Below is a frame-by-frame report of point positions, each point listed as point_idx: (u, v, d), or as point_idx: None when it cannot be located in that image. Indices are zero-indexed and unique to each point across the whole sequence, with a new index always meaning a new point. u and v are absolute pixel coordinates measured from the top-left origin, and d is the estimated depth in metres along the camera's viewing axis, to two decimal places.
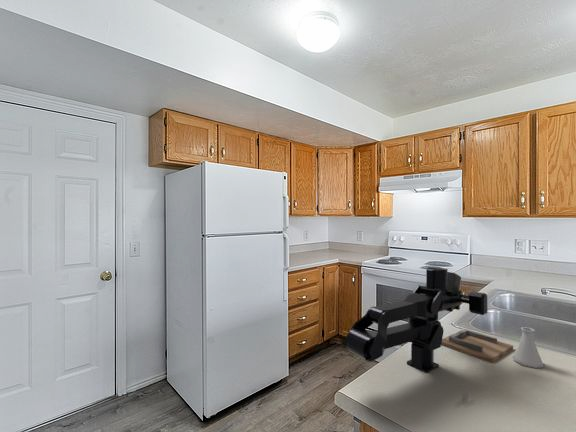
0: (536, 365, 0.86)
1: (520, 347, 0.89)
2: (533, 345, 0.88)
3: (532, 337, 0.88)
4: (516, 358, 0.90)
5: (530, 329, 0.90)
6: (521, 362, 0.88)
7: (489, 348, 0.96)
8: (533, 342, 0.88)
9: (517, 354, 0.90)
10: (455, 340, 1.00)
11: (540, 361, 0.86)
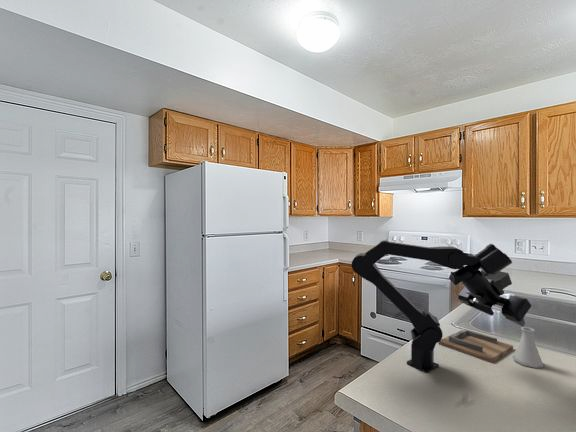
0: (536, 365, 0.86)
1: (520, 347, 0.89)
2: (533, 345, 0.88)
3: (532, 337, 0.88)
4: (516, 358, 0.90)
5: (530, 329, 0.90)
6: (521, 362, 0.88)
7: (489, 348, 0.96)
8: (533, 342, 0.88)
9: (517, 354, 0.90)
10: (455, 340, 1.00)
11: (540, 361, 0.86)
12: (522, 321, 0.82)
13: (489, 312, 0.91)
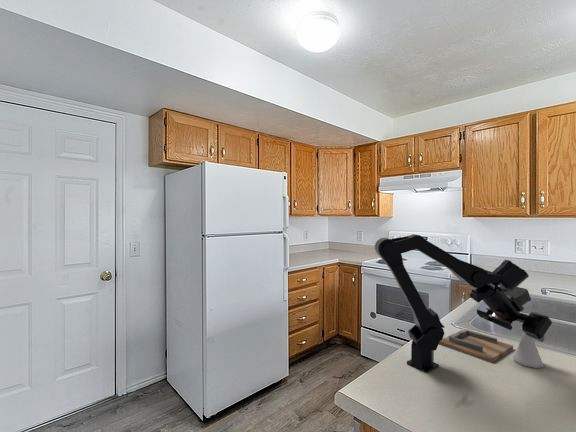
0: (536, 365, 0.86)
1: (520, 347, 0.89)
2: (533, 345, 0.88)
3: None
4: (516, 358, 0.90)
5: None
6: (521, 362, 0.88)
7: (489, 348, 0.96)
8: (533, 342, 0.88)
9: (517, 354, 0.90)
10: (455, 340, 1.00)
11: (540, 361, 0.86)
12: (542, 337, 0.83)
13: (508, 327, 0.93)
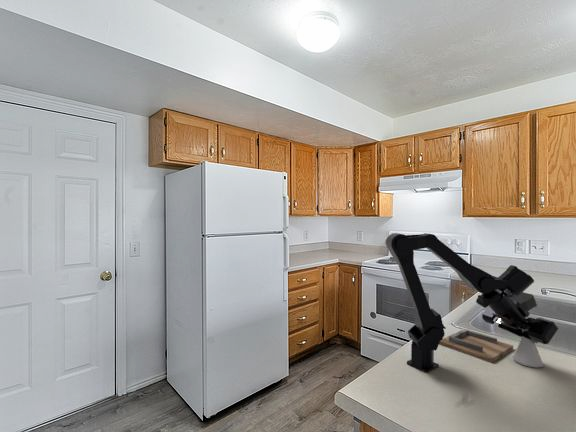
0: (536, 365, 0.86)
1: (520, 347, 0.89)
2: (533, 345, 0.88)
3: None
4: (516, 358, 0.90)
5: None
6: (521, 362, 0.88)
7: (489, 348, 0.96)
8: (533, 342, 0.88)
9: (517, 354, 0.90)
10: (455, 340, 1.00)
11: (540, 361, 0.86)
12: None
13: None
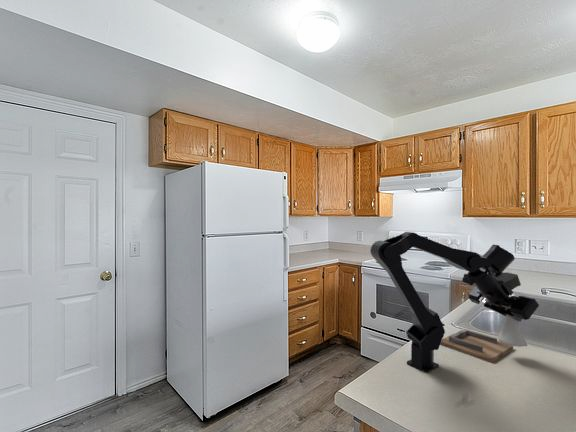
0: (520, 344, 0.89)
1: (505, 327, 0.92)
2: (517, 325, 0.90)
3: None
4: (501, 338, 0.92)
5: None
6: (506, 342, 0.90)
7: (489, 348, 0.96)
8: (517, 322, 0.91)
9: (502, 334, 0.92)
10: (455, 340, 1.00)
11: (524, 340, 0.89)
12: None
13: None
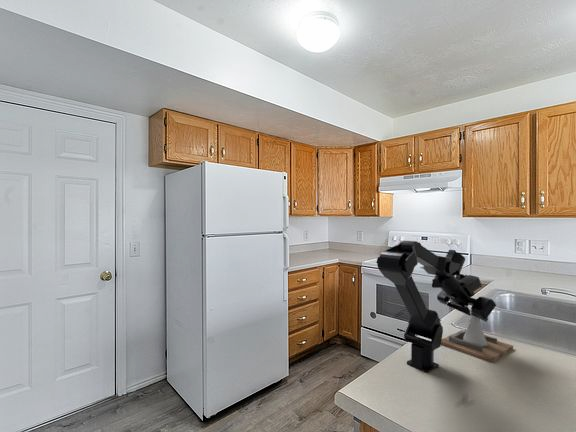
0: (481, 344, 0.97)
1: (468, 329, 1.00)
2: (479, 327, 0.99)
3: (479, 319, 0.99)
4: (465, 339, 1.00)
5: None
6: None
7: (489, 348, 0.96)
8: (479, 324, 0.99)
9: (466, 335, 1.00)
10: (455, 340, 1.00)
11: (485, 341, 0.98)
12: None
13: (467, 312, 1.03)
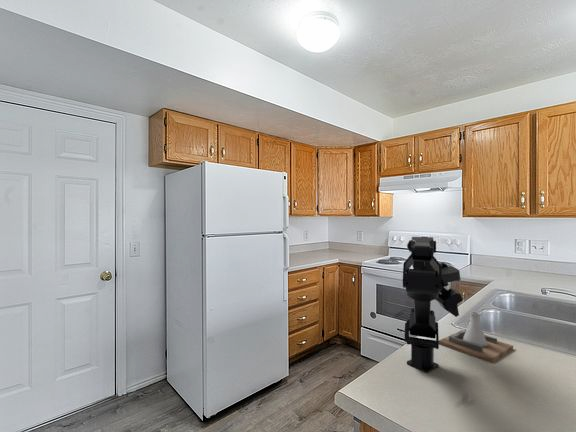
0: (481, 344, 0.97)
1: (468, 329, 1.00)
2: (479, 327, 0.99)
3: (479, 319, 0.99)
4: (465, 339, 1.00)
5: (477, 313, 1.01)
6: None
7: (489, 348, 0.96)
8: (479, 324, 0.99)
9: (466, 335, 1.00)
10: (455, 340, 1.00)
11: (485, 341, 0.98)
12: (456, 312, 0.94)
13: None
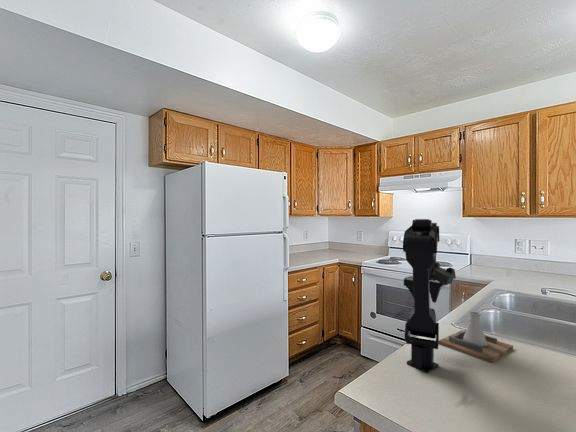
0: (481, 344, 0.97)
1: (468, 329, 1.00)
2: (479, 327, 0.99)
3: (479, 319, 0.99)
4: (465, 339, 1.00)
5: (477, 313, 1.01)
6: None
7: (489, 348, 0.96)
8: (479, 324, 0.99)
9: (466, 335, 1.00)
10: (455, 340, 1.00)
11: (485, 341, 0.98)
12: None
13: (432, 297, 1.06)
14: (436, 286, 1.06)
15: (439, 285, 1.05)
